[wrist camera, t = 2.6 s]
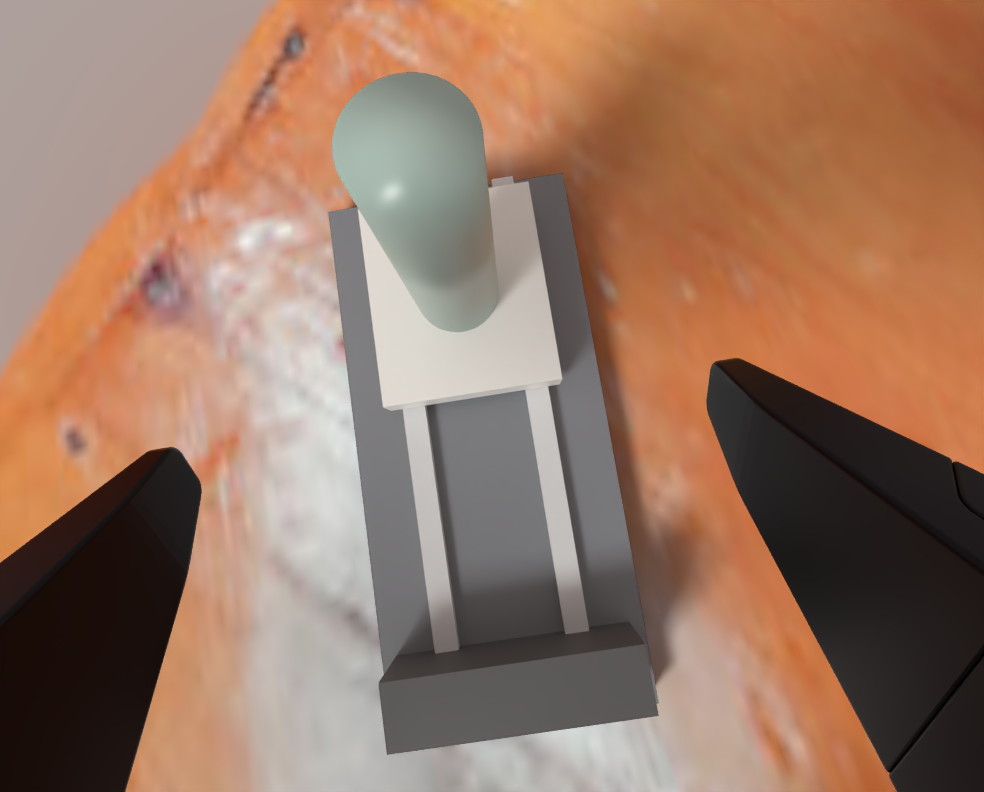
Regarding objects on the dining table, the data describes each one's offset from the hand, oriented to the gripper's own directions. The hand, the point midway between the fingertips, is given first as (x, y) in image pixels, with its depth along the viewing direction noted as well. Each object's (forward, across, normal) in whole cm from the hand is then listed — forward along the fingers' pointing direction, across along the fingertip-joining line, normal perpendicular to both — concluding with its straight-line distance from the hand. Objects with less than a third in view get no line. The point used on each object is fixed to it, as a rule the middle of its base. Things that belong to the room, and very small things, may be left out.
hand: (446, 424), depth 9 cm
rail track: (+8, 0, +8) cm, 12 cm away
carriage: (+11, 0, +4) cm, 11 cm away
